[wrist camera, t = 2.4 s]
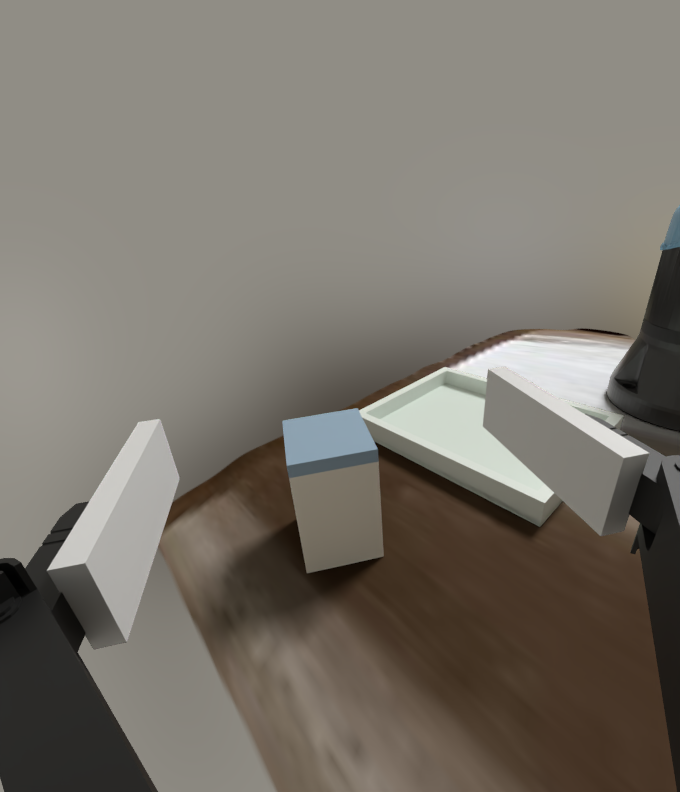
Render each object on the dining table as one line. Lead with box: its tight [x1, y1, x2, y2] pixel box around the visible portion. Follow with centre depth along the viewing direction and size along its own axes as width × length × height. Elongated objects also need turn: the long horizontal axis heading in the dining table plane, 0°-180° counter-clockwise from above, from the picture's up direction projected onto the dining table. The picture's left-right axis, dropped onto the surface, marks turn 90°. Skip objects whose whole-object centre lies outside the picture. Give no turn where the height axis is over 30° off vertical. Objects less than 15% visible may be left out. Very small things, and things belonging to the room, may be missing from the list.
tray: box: [359, 367, 624, 527], centre depth 43 cm, size 18×22×2 cm
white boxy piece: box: [283, 408, 384, 573], centre depth 29 cm, size 6×6×10 cm
